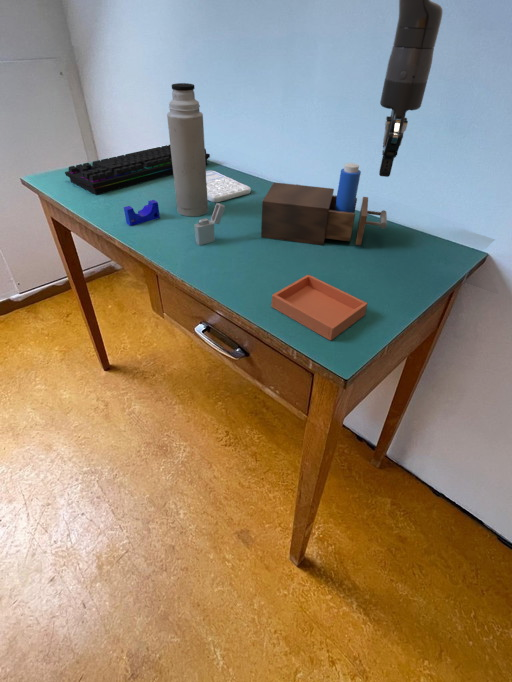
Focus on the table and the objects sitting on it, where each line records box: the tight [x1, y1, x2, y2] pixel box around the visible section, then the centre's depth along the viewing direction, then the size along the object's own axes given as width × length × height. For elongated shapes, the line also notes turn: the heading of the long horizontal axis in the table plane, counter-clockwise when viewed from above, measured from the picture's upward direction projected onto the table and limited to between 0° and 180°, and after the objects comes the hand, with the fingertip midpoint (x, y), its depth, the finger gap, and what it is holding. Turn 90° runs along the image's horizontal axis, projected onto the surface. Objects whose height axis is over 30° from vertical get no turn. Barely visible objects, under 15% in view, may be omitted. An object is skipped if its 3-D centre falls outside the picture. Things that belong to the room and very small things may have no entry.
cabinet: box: [260, 182, 335, 246], centre depth 93 cm, size 15×13×9 cm
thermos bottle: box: [166, 82, 209, 217], centre depth 94 cm, size 8×8×28 cm
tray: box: [271, 274, 369, 342], centre depth 70 cm, size 13×10×3 cm
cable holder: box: [123, 199, 161, 227], centre depth 97 cm, size 8×4×4 cm, turn 130°
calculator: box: [206, 170, 252, 203], centre depth 115 cm, size 13×20×2 cm, turn 40°
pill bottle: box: [335, 162, 362, 213], centre depth 88 cm, size 4×4×14 cm
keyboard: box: [64, 144, 211, 196], centre depth 124 cm, size 42×16×5 cm, turn 137°
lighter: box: [194, 202, 226, 246], centre depth 88 cm, size 7×2×8 cm, turn 125°
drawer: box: [325, 194, 388, 246], centre depth 91 cm, size 18×11×7 cm, turn 77°
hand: (384, 175), depth 84 cm, fingers closed
